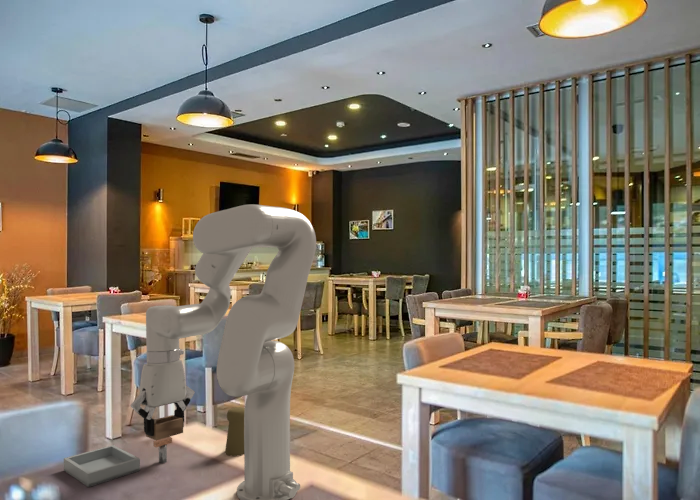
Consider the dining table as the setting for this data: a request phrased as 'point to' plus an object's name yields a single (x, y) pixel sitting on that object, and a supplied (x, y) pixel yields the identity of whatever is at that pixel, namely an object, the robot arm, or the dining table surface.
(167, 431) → the collar
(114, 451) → the tray
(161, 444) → the brown grey t-shaped piece
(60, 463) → the dining table surface
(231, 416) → the cork
